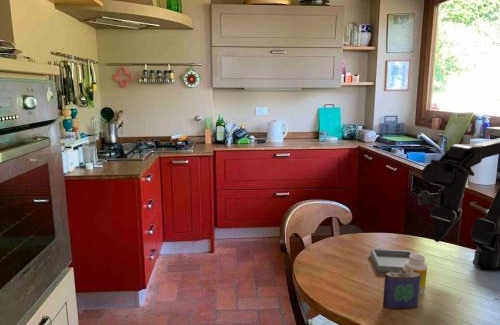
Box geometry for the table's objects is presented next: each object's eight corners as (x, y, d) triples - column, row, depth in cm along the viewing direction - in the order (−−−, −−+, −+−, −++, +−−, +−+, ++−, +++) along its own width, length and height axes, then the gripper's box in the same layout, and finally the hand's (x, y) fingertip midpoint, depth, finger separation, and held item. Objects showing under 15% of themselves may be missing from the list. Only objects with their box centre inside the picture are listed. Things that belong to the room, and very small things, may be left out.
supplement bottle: (428, 291, 107) (431, 257, 105) (418, 298, 103) (421, 262, 101) (409, 284, 111) (412, 250, 109) (398, 290, 107) (402, 255, 105)
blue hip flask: (414, 303, 101) (418, 264, 99) (420, 309, 98) (424, 270, 96) (380, 304, 100) (383, 266, 98) (385, 310, 97) (389, 271, 95)
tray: (410, 257, 128) (411, 250, 128) (423, 276, 116) (423, 268, 115) (370, 255, 130) (370, 248, 129) (378, 273, 117) (379, 265, 117)
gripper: (429, 180, 123) (416, 227, 125) (417, 180, 108) (403, 234, 109) (468, 190, 117) (454, 238, 119) (461, 192, 102) (445, 248, 103)
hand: (438, 239), depth 113 cm, fingers open, 9 cm apart
